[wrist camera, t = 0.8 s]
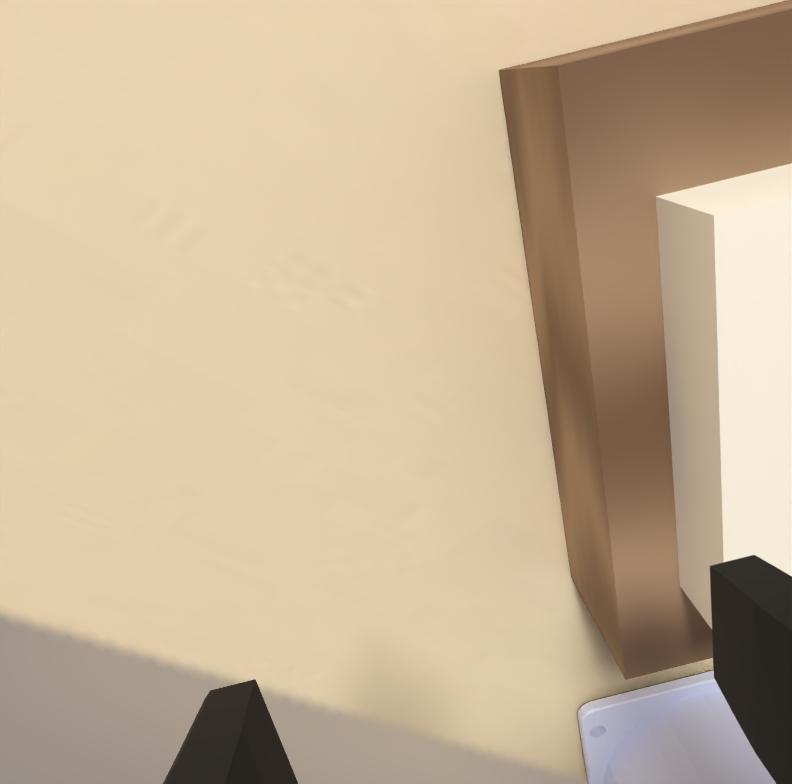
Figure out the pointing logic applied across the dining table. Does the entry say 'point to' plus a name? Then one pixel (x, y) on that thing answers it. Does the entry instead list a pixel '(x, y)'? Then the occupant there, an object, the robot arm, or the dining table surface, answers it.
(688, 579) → the block
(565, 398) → the brown wooden block
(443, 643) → the dining table surface
